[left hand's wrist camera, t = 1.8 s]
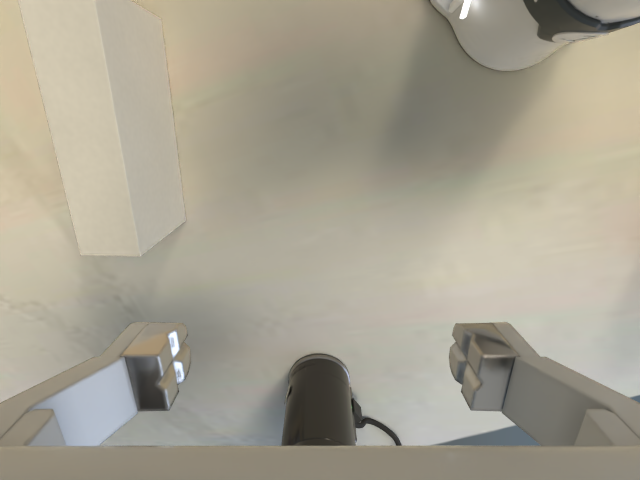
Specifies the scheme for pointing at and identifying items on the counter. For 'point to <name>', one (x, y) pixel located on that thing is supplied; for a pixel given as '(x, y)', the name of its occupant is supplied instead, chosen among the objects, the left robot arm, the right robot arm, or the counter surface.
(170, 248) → the counter surface
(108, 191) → the box
